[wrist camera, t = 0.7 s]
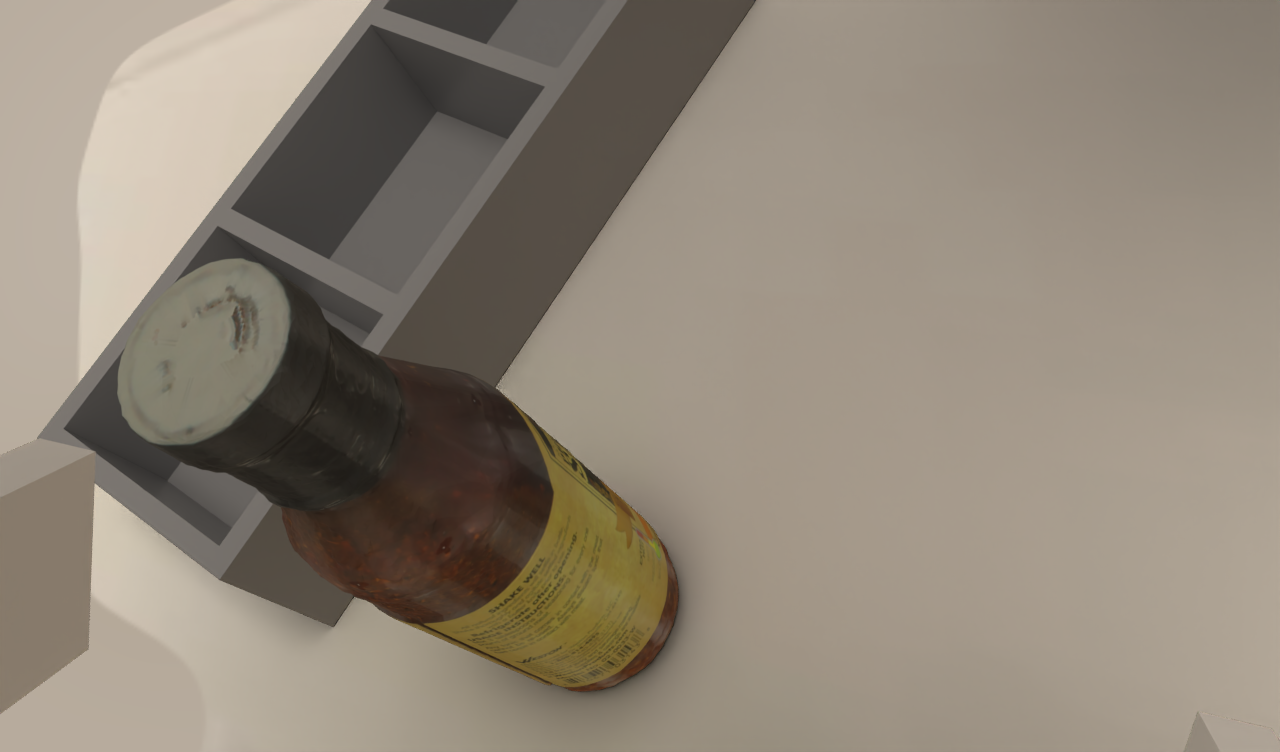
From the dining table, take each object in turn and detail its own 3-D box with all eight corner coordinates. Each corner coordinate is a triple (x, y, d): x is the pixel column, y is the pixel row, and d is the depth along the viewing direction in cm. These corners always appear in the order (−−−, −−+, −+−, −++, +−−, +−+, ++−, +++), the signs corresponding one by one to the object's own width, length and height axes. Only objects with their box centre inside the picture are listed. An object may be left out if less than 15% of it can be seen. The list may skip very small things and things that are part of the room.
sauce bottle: (702, 526, 38) (418, 203, 21) (663, 715, 36) (308, 524, 19) (529, 503, 41) (148, 197, 24) (481, 679, 38) (24, 481, 21)
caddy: (559, -62, 52) (500, -179, 47) (760, -7, 47) (720, -132, 42) (154, 492, 46) (30, 433, 41) (333, 627, 41) (219, 579, 35)
